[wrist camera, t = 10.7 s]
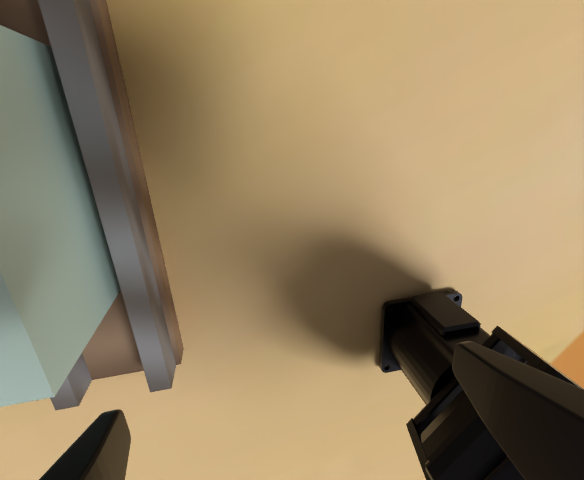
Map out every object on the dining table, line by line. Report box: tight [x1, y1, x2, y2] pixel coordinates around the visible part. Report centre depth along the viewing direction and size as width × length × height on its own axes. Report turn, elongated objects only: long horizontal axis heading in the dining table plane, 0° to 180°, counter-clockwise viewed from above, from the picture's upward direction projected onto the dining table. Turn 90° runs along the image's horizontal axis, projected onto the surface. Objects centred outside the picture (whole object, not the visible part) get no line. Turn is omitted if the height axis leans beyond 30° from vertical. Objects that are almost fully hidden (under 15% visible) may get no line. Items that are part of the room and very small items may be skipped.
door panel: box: [0, 25, 121, 407], centre depth 12 cm, size 12×2×8 cm, turn 3°
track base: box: [0, 0, 183, 410], centre depth 15 cm, size 24×12×4 cm, turn 3°
